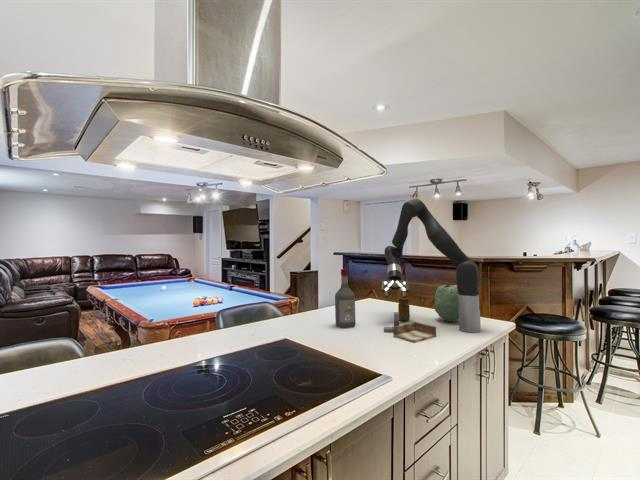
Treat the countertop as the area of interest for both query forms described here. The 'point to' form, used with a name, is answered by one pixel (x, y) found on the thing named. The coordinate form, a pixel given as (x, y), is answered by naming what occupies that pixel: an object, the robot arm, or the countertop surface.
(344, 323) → the liquor
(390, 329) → the bracket
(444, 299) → the green rounded lump
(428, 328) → the walls
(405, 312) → the condiment
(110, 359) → the countertop surface
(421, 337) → the tray
